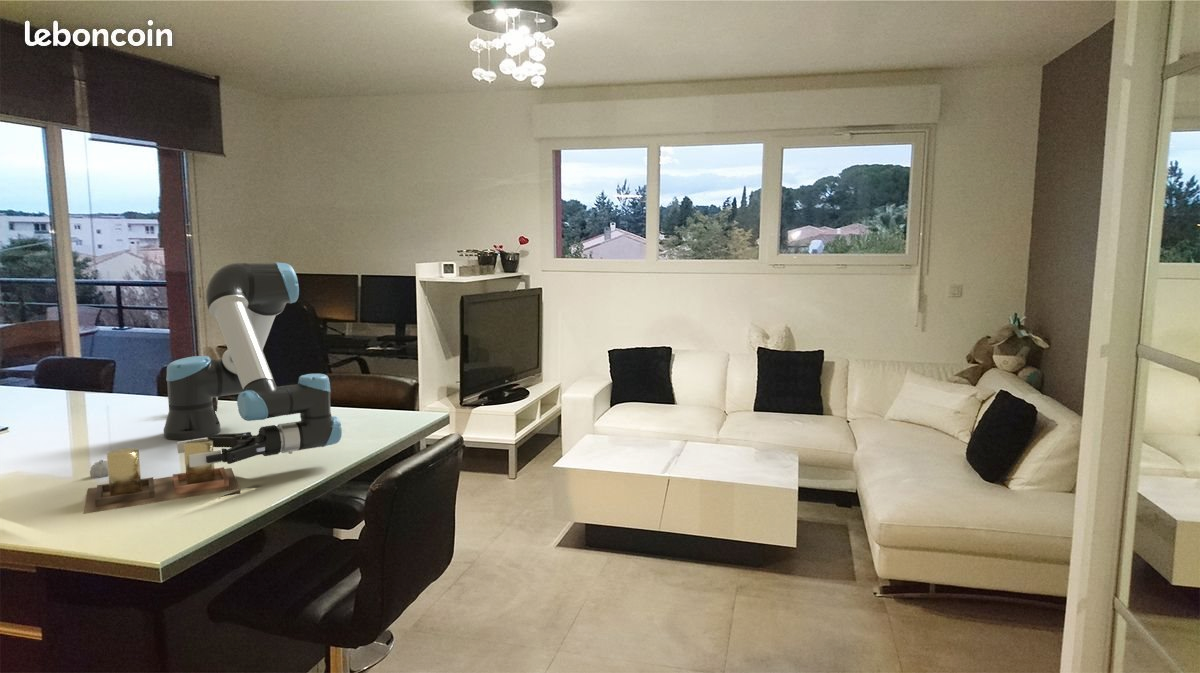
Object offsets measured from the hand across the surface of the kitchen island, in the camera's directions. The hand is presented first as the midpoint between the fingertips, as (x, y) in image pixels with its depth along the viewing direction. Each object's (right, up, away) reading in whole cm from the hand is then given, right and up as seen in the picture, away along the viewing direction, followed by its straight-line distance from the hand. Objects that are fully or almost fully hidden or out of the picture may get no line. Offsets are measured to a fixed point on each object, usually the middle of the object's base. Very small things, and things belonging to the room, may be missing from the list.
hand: (183, 454), depth 167 cm
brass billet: (+2, -7, +3) cm, 9 cm away
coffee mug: (-37, +2, +79) cm, 87 cm away
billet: (-10, -8, -5) cm, 14 cm away
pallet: (-4, -9, -1) cm, 10 cm away
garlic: (-25, -8, +9) cm, 27 cm away
